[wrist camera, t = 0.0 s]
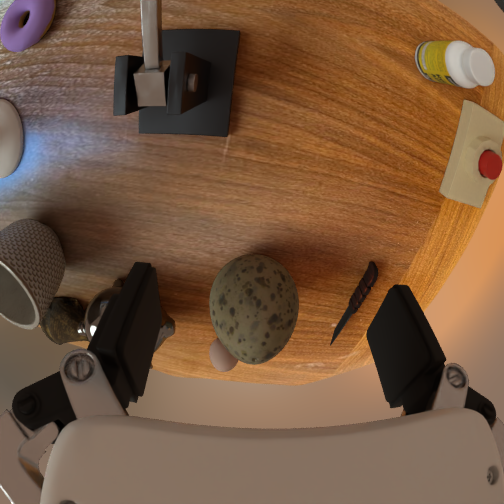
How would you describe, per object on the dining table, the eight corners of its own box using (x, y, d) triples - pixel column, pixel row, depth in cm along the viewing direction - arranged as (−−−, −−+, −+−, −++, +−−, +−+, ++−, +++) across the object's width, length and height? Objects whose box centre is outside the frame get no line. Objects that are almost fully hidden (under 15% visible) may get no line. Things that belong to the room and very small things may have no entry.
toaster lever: (122, -46, 8) (105, -44, 7) (198, -56, 8) (189, -59, 7) (132, 92, 18) (120, 107, 17) (192, 91, 19) (185, 106, 17)
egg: (223, 325, 47) (220, 358, 41) (246, 338, 49) (246, 370, 43) (205, 338, 49) (201, 369, 43) (227, 350, 51) (225, 381, 45)
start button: (482, 146, 25) (490, 150, 23) (496, 154, 25) (505, 159, 24) (475, 171, 27) (482, 176, 25) (489, 177, 27) (497, 183, 26)
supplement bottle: (414, 78, 24) (465, 86, 16) (411, 37, 21) (462, 33, 13) (447, 85, 24) (499, 97, 16) (446, 46, 21) (498, 49, 13)
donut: (73, -7, 17) (47, -5, 13) (47, 54, 22) (22, 63, 19) (32, -18, 13) (8, -14, 10) (11, 37, 19) (-12, 45, 15)
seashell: (48, 325, 49) (32, 343, 42) (35, 289, 45) (16, 306, 39) (107, 334, 48) (92, 357, 42) (94, 294, 45) (76, 315, 39)
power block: (463, 99, 25) (482, 104, 21) (497, 119, 25) (514, 127, 22) (438, 191, 33) (454, 204, 29) (472, 202, 33) (487, 214, 30)
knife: (329, 334, 49) (332, 347, 46) (325, 334, 48) (327, 347, 46) (374, 261, 39) (381, 273, 37) (369, 260, 39) (376, 272, 37)
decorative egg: (238, 305, 44) (234, 391, 32) (200, 255, 39) (180, 344, 26) (303, 281, 41) (320, 368, 29) (272, 223, 36) (283, 311, 23)
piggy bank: (182, 325, 47) (170, 382, 37) (103, 312, 46) (81, 363, 36) (180, 275, 41) (163, 337, 31) (90, 263, 39) (58, 316, 30)
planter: (8, 204, 33) (-40, 249, 22) (66, 202, 33) (13, 254, 23) (31, 272, 41) (-3, 321, 30) (88, 278, 41) (55, 337, 31)
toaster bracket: (148, 32, 22) (90, 14, 11) (240, 32, 23) (232, 1, 12) (142, 131, 29) (86, 165, 18) (228, 135, 29) (214, 170, 19)
